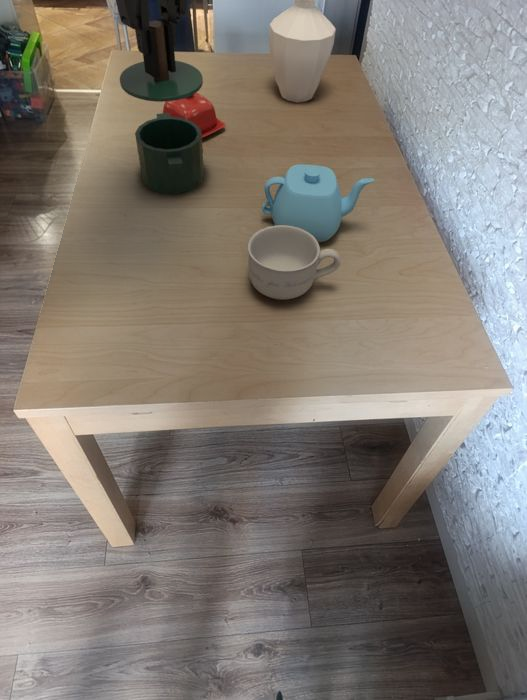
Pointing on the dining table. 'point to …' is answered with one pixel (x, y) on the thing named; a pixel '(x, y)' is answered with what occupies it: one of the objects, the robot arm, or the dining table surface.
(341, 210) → the teapot
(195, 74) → the pot lid
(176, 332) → the dining table surface
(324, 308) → the dining table surface
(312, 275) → the teacup
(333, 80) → the dining table surface
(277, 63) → the vase
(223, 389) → the dining table surface
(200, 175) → the pot
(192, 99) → the butter dish
